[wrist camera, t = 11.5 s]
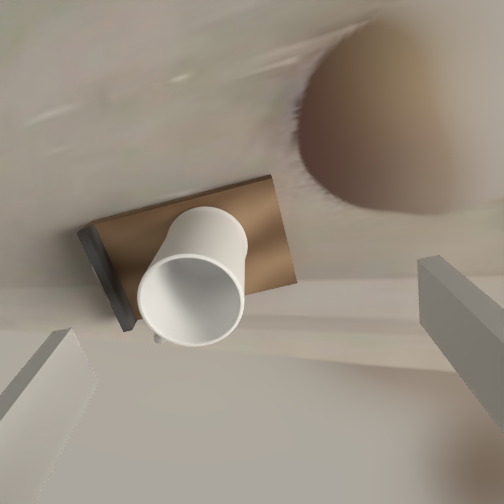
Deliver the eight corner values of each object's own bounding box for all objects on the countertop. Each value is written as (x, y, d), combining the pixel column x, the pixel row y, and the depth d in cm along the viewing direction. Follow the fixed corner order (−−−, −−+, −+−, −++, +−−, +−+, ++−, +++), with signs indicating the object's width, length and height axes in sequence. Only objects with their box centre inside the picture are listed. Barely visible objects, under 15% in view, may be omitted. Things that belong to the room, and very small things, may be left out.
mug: (198, 314, 41) (180, 391, 30) (134, 272, 39) (90, 338, 28) (264, 239, 38) (270, 295, 27) (198, 188, 36) (176, 227, 25)
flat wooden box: (90, 221, 39) (73, 233, 36) (271, 174, 37) (273, 182, 34) (131, 313, 44) (121, 332, 40) (294, 275, 42) (299, 291, 38)
